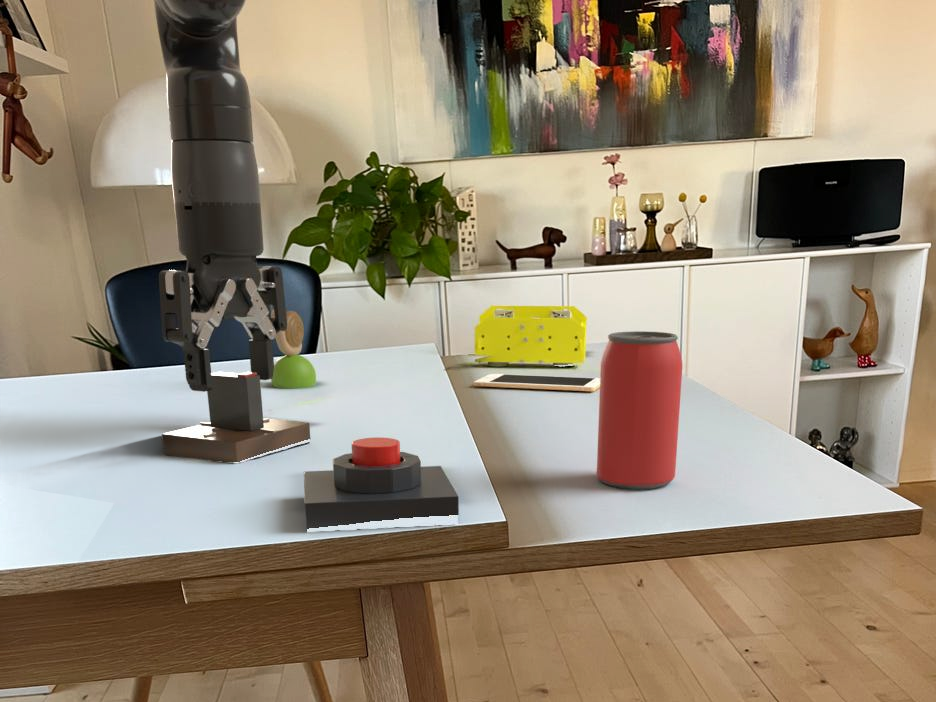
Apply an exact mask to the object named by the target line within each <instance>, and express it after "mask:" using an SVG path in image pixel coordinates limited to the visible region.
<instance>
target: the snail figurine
mask: <svg viewBox="0 0 936 702" xmlns="http://www.w3.org/2000/svg"><path fill="white" fill-rule="evenodd" d="M270 309H271V318H275V313H274V309H273V305H270ZM286 317H287V329H286V330H285V331H279V332H278V333H277V334H276V336H275V338H274V339H275V340H276V345H277V347H278V349H279V351H280V352H281V353H282V354H283V356H281V357H279V358H278V359H277V360H276V361H274V371H273V378H272V379H270V380H271V384H272V387H273V388H277V389H285V390H287V389H290V390H291V389H306V388H312V387H314V386H316V383H317V372H316V369H315V367H314V365H313V364H312V363H311V361H310V360H309V359H308V358H306V357H304V356H303V355H300V353H301V351H302V348H303V340H304V337H305V336H304V335H305V329H304V322H303V319H302V318H301V316H300V315H299V314H298V313H297V312H296V311H294V310H288V311H286Z"/></svg>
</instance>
